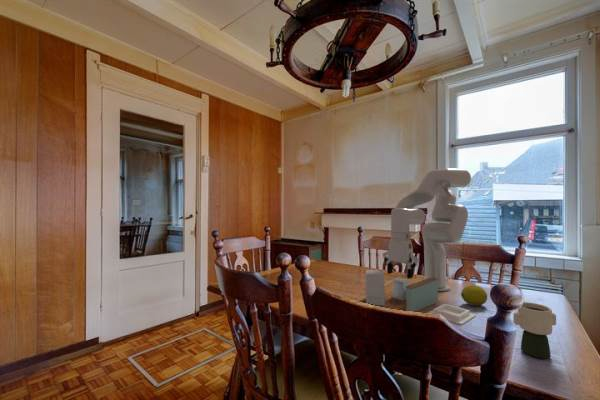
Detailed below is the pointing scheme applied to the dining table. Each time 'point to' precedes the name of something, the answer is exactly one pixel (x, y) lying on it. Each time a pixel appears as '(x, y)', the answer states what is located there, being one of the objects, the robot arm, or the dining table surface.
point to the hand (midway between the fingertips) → (399, 275)
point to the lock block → (400, 288)
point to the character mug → (535, 328)
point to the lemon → (474, 295)
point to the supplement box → (375, 287)
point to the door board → (422, 294)
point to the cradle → (454, 313)
